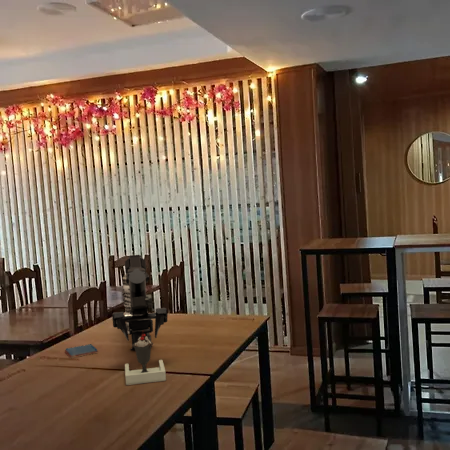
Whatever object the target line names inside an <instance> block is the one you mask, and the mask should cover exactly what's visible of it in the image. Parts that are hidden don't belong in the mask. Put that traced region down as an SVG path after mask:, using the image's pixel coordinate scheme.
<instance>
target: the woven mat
mask: <svg viewBox="0 0 450 450" xmlns="http://www.w3.org/2000/svg"><path fill="white" fill-rule="evenodd" d="M64 352H65V354H66V355H67V356H68V357H69V358H70V359H73V358H75V359H77V358H79V357H80V358H81V357H85V356H90V355H94V354H95V355H96V354H97V353H99V351H98V349H97V348H96V347H95V346H94V345H93V344H92V343H90V344H85V345H78V346H73V347H69V348H68V347H67V348H65V350H64Z"/></svg>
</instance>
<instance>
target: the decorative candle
mask: <svg viewBox="0 0 450 450" xmlns="http://www.w3.org/2000/svg"><path fill="white" fill-rule="evenodd" d="M122 279H123V284H122V290H121V292H122V297H123V299H122V300H123V306H124V307H125V311H124V315H130V310H131V301H130V288H129V284H127V282H126V273H125V274H124V276H123V277H122ZM126 326H127V331H128V335H129V322H128V321H126Z"/></svg>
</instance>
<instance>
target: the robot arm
mask: <svg viewBox="0 0 450 450" xmlns="http://www.w3.org/2000/svg"><path fill="white" fill-rule="evenodd" d="M124 269H125V274H126V282H127V284H129V288H130V301H131V310H130V315H125V311H116V312H113V313H112V317H111V319H112V328H116V329H117V330H121V332H122V333H123V336H124V337H125V338H126V341H127V342H129V340H130V339H129V337H130V336H131V348H130V351H135V348H134V347H132V345H133V344H134V343H136V342H137V341H138V338H139V337H140V336H141V335H142V334H145V335H146V336H147V337H148V339H149V340H150V341H151V342H152V335H150V334H152V332H154V338H155V339H157V337H158V334H159V330H160V328H161V326H162V325H164V324H165V323H167V322H168V315H169V314H168V309H167V307H158V308H155V312H149V305H153V298H152V294H147V289H146V288H147V283H148V282H149V281H150V275H149V274H148V272H147V262H146V259H144V258H143V257H142V255H141V254H131V255H129V256H128V258H127V259H126V260H125V261H124ZM153 320H155V322H154V321H153ZM126 321H128V322H129V334H128V331H127V326H126ZM143 330H144V332H143ZM142 332H143V333H142Z"/></svg>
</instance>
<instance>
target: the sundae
mask: <svg viewBox="0 0 450 450" xmlns="http://www.w3.org/2000/svg"><path fill="white" fill-rule="evenodd" d="M143 332H144V330H143ZM143 332H142V333H143ZM153 345H154V343H153V341H152V340H151V341H150V340H149V339H148V337H147V336H146V335H145V334H142V335H141V336H140V337H139V338H138V341H137V342H136V343H134V344H133V345H132V344H131V348H132V347H134V348H135V350H134V351H135V355H136V360H137V362H138V364H140V365H142V366H141V367H142V368H141V369H142V372H141V373H145V372H148V371H147V369H148V368H147V364H148V363H149V362H150V360H151V351H152V347H153Z"/></svg>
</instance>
